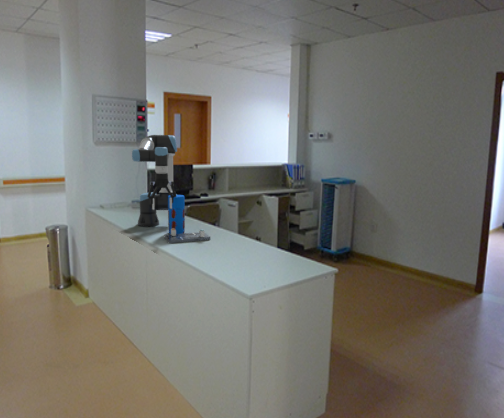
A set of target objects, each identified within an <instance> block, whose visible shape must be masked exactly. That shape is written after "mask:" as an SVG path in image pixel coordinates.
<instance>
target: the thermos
mask: <svg viewBox="0 0 504 418" xmlns="http://www.w3.org/2000/svg"><path fill="white" fill-rule="evenodd" d="M170 198H171V196H170V195H169V196H168V210H167V213H168V215H167V216H168V217H167V219H168V221H167V222H168V224H167V225H168V234H169V235H171V229H172V228H175V230H176V234H184V233H185V229H186V223H185V221H186V218H185V216H186V215H185V212H186V209H185V206H186V205H185V202H186V201H185V199H186V197H185V195H183V194H177V195H176V197H174V198H173V203H172V209H171V208H170Z"/></svg>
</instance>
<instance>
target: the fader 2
mask: <svg viewBox="0 0 504 418" xmlns="http://www.w3.org/2000/svg"><path fill="white" fill-rule="evenodd" d="M198 232H199V236H200V237H205V233H206V232H205V230H204V229H203V228H201V229H199V230H198Z"/></svg>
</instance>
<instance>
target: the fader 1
mask: <svg viewBox="0 0 504 418" xmlns="http://www.w3.org/2000/svg"><path fill="white" fill-rule="evenodd" d="M170 235H172V236H176V230H175V228H172V229H171V234H170Z"/></svg>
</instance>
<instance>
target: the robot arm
mask: <svg viewBox="0 0 504 418" xmlns="http://www.w3.org/2000/svg"><path fill="white" fill-rule="evenodd" d="M177 146H178V145H177V139H176V136H175V135H171V134H151V135H148V136H145V137H144V138H142V140H141V141H140V144H139V147H138V148H136V149H135V148H134V149H132V151H131V158H132V162H137V163H140V162H145V163H148V162H149V163H150V162H151V163H154V172H155V173H154V175H155V176H154V178H155V180H154V181H150V182H149V188H148V192H144V193H141V194H140V195H139V200H138V201H139V216H138V219H137V225H138V226H139V227H156V226H159V225H160V220H159V218H158V214H157V211H168V196H169V195H170V196H171V198H170V208H171V209H172V203H173V198H174V197H176V195H178V194H177V193H176V190H175V188H174V187H175V185H174V157H175V155H176V153H177V152H178V147H177ZM154 186H155V187H154ZM153 189H154V190H153ZM159 189H160V190H159ZM158 190H159V192H158ZM157 192H158V193H157Z"/></svg>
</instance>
